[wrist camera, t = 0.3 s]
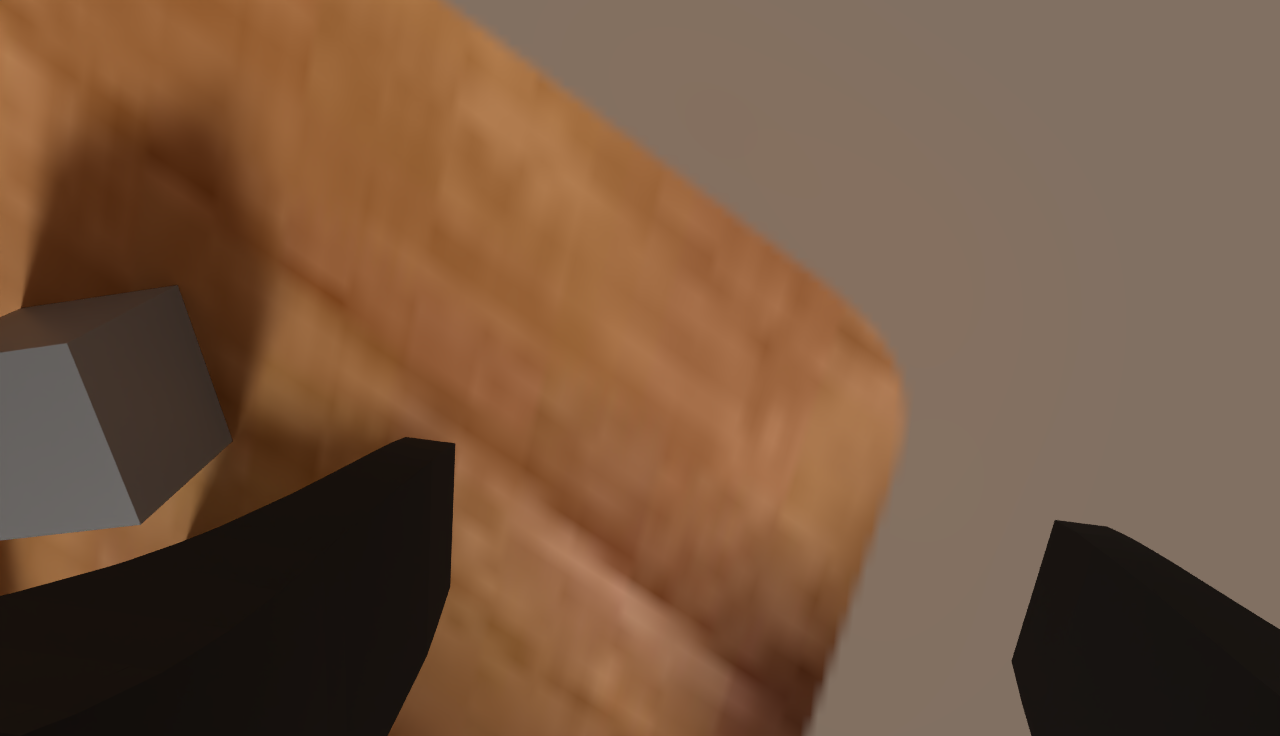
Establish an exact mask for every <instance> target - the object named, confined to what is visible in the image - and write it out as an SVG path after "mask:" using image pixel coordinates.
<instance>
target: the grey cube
mask: <svg viewBox="0 0 1280 736" xmlns="http://www.w3.org/2000/svg"><path fill="white" fill-rule="evenodd" d="M231 442H232V438H231V435H230V432H229V429H228V426H227V424H226V421H225V418H224V415H223V412H222V409H221V407H220V404H219V401H218V398H217V395H216V392H215V389H214V387H213V384H212V381H211V378H210V375H209V372H208V370H207V367H206V364H205V361H204V358H203V355H202V353H201V350H200V347H199V344H198V341H197V338H196V336H195V333H194V330H193V327H192V324H191V321H190V319H189V316H188V313H187V310H186V307H185V304H184V302H183V299H182V296H181V293H180V290H179V287H178V285H175V286H168V287H161V288H154V289H148V290H141V291H134V292H127V293H121V294H114V295H107V296H100V297H94V298H87V299H80V300H73V301H67V302H60V303H53V304H46V305H40V306H33V307H26V308H20V309H18V310H16V311H14V312H11V313H9V314H7V315H5V316H2V317H0V540H9V539H18V538H26V537H35V536H44V535H53V534H62V533H71V532H80V531H89V530H97V529H106V528H115V527H124V526H133V525H141V524H142V523H143V522H144V521H145V520H146V519H147V518H148V517H150V516H151V515H152V514H153V513H154V512H155V511H156V510H157V509H158V508H159V507H161V506H162V505H163V504H164V503H165V502H166V501H167V500H168V499H169V498H170V497H172V496H173V495H174V494H175V493H176V492H177V491H178V490H179V489H180V488H182V487H183V486H184V485H185V484H186V483H187V482H188V481H189V480H190V479H191V478H193V477H194V476H195V475H196V474H197V473H198V472H199V471H200V470H201V469H202V468H204V467H205V466H206V465H207V464H208V463H209V462H210V461H211V460H212V459H213V458H215V457H216V456H217V455H218V454H219V453H220V452H221V451H222V450H223V449H224V448H226V447H227V446H228V445H229V444H230V443H231Z"/></svg>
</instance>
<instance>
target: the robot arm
mask: <svg viewBox="0 0 1280 736" xmlns="http://www.w3.org/2000/svg"><path fill="white" fill-rule="evenodd" d="M454 465H455V443H448V442H440V441H432V440H424V439H417V438H409V437H405V438H402V439H400V440H397V441H395V442H392V443H390V444H388V445H386V446H384V447H382V448H380V449H378V450H376V451H374V452H372V453H370V454H368V455H366V456H364V457H362V458H361V459H359V460H357V461H355V462H353V463H351V464H349V465H347V466H345V467H343V468H341V469H339V470H338V471H336V472H334V473H332V474H330V475H328V476H326V477H324V478H322V479H320V480H318V481H316V482H314V483H312V484H310V485H308V486H306V487H304V488H302V489H300V490H298V491H296V492H294V493H292V494H290V495H288V496H286V497H284V498H282V499H280V500H277V501H275V502H273V503H271V504H269V505H266V506H264V507H262V508H260V509H258V510H255V511H253V512H251V513H249V514H247V515H244V516H242V517H240V518H238V519H236V520H233V521H231V522H229V523H227V524H225V525H222V526H220V527H218V528H215V529H213V530H210V531H208V532H206V533H203V534H201V535H198V536H195V537H193V538H190V539H188V540H185V541H182V542H180V543H177V544H174V545H172V546H169V547H166V548H163V549H160V550H157V551H154V552H152V553H149V554H146V555H143V556H140V557H137V558H134V559H131V560H128V561H125V562H122V563H119V564H116V565H113V566H110V567H106V568H102V569H99V570H95V571H91V572H88V573H84V574H81V575H77V576H73V577H70V578H66V579H62V580H59V581H55V582H52V583H48V584H44V585H41V586H37V587H33V588H30V589H26V590H23V591H19V592H15V593H11V594H7V595H3V596H0V736H388V734H389V732H390V730H391V728H392V726H393V724H394V722H395V720H396V718H397V716H398V714H399V712H400V710H401V708H402V706H403V704H404V702H405V700H406V697H407V695H408V693H409V691H410V689H411V687H412V685H413V683H414V681H415V679H416V677H417V675H418V673H419V671H420V669H421V667H422V665H423V663H424V661H425V659H426V657H427V654H428V651H429V648H430V645H431V642H432V640H433V637H434V634H435V631H436V628H437V625H438V622H439V619H440V616H441V613H442V610H443V607H444V604H445V601H446V598H447V595H448V592H449V589H450V577H451V549H452V521H453V493H454ZM1012 665H1013V669H1014V673H1015V677H1016V681H1017V685H1018V689H1019V693H1020V697H1021V701H1022V705H1023V708H1024V712H1025V715H1026V718H1027V722H1028V725H1029V729H1030V732H1031V736H1280V629H1278V628H1277V627H1275V626H1273V625H1272V624H1270V623H1269V622H1267V621H1265V620H1264V619H1262V618H1260V617H1259V616H1257V615H1256V614H1254V613H1252V612H1251V611H1249V610H1248V609H1246V608H1244V607H1243V606H1241V605H1239V604H1238V603H1236V602H1235V601H1233V600H1232V599H1230V598H1228V597H1227V596H1225V595H1224V594H1222V593H1220V592H1219V591H1217V590H1216V589H1214V588H1213V587H1211V586H1209V585H1208V584H1206V583H1204V582H1203V581H1201V580H1200V579H1198V578H1197V577H1195V576H1193V575H1192V574H1190V573H1189V572H1187V571H1185V570H1184V569H1182V568H1181V567H1179V566H1178V565H1176V564H1174V563H1173V562H1171V561H1169V560H1168V559H1166V558H1164V557H1163V556H1161V555H1159V554H1158V553H1156V552H1154V551H1153V550H1151V549H1149V548H1148V547H1146V546H1144V545H1142V544H1141V543H1139V542H1137V541H1135V540H1133V539H1132V538H1130V537H1128V536H1126V535H1124V534H1122V533H1120V532H1118V531H1115V530H1113V529H1111V528H1109V527H1106V526H1098V525H1090V524H1081V523H1074V522H1066V521H1058V520H1055V521H1054V525H1053V528H1052V531H1051V534H1050V538H1049V541H1048V544H1047V548H1046V551H1045V554H1044V557H1043V560H1042V564H1041V567H1040V571H1039V573H1038V577H1037V580H1036V583H1035V587H1034V590H1033V593H1032V596H1031V600H1030V603H1029V606H1028V609H1027V613H1026V616H1025V619H1024V622H1023V626H1022V629H1021V632H1020V635H1019V639H1018V642H1017V646H1016V648H1015V652H1014V655H1013V658H1012Z"/></svg>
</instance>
